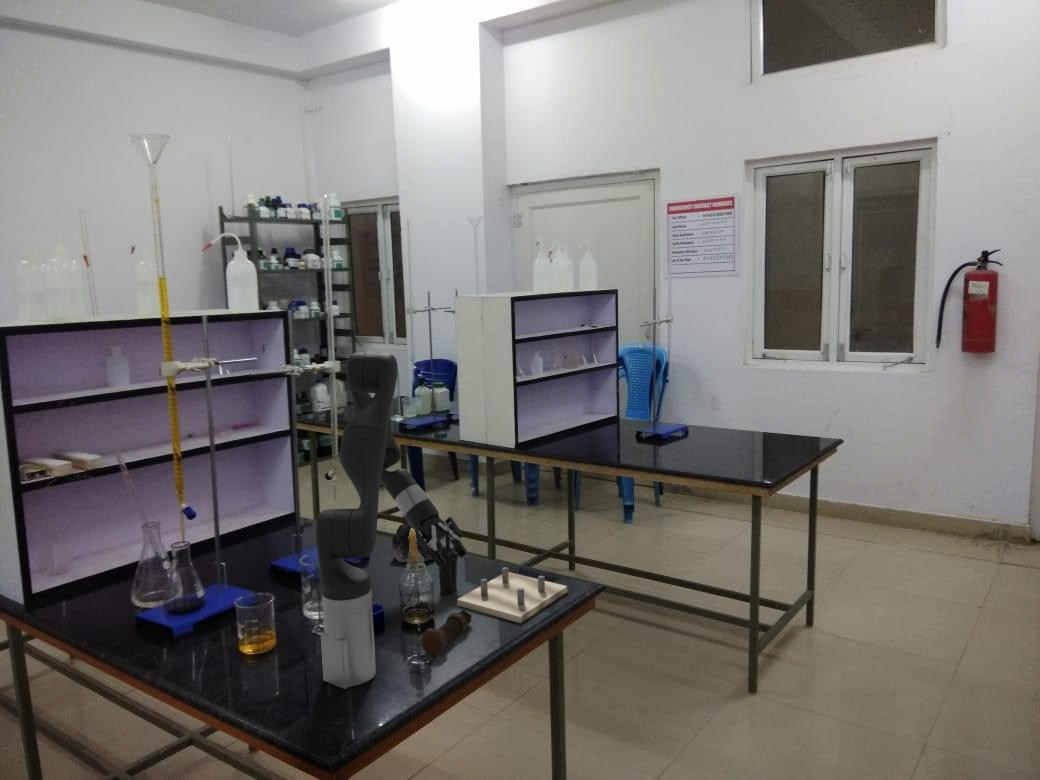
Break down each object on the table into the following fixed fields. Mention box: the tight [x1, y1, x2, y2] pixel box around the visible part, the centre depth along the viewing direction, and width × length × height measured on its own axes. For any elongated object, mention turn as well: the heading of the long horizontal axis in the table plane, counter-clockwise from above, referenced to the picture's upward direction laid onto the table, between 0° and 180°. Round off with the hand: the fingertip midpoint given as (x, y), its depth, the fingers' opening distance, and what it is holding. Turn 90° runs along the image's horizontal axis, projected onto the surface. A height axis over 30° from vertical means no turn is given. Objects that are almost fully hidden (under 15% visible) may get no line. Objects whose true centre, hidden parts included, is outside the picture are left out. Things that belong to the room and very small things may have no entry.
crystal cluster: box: [391, 522, 443, 563], centre depth 213 cm, size 13×14×10 cm
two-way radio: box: [438, 530, 460, 594], centre depth 189 cm, size 6×4×15 cm
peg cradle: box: [456, 566, 568, 624], centre depth 184 cm, size 20×18×5 cm
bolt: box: [420, 609, 473, 656], centre depth 164 cm, size 6×5×15 cm
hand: (454, 560), depth 188 cm, fingers open, 7 cm apart
